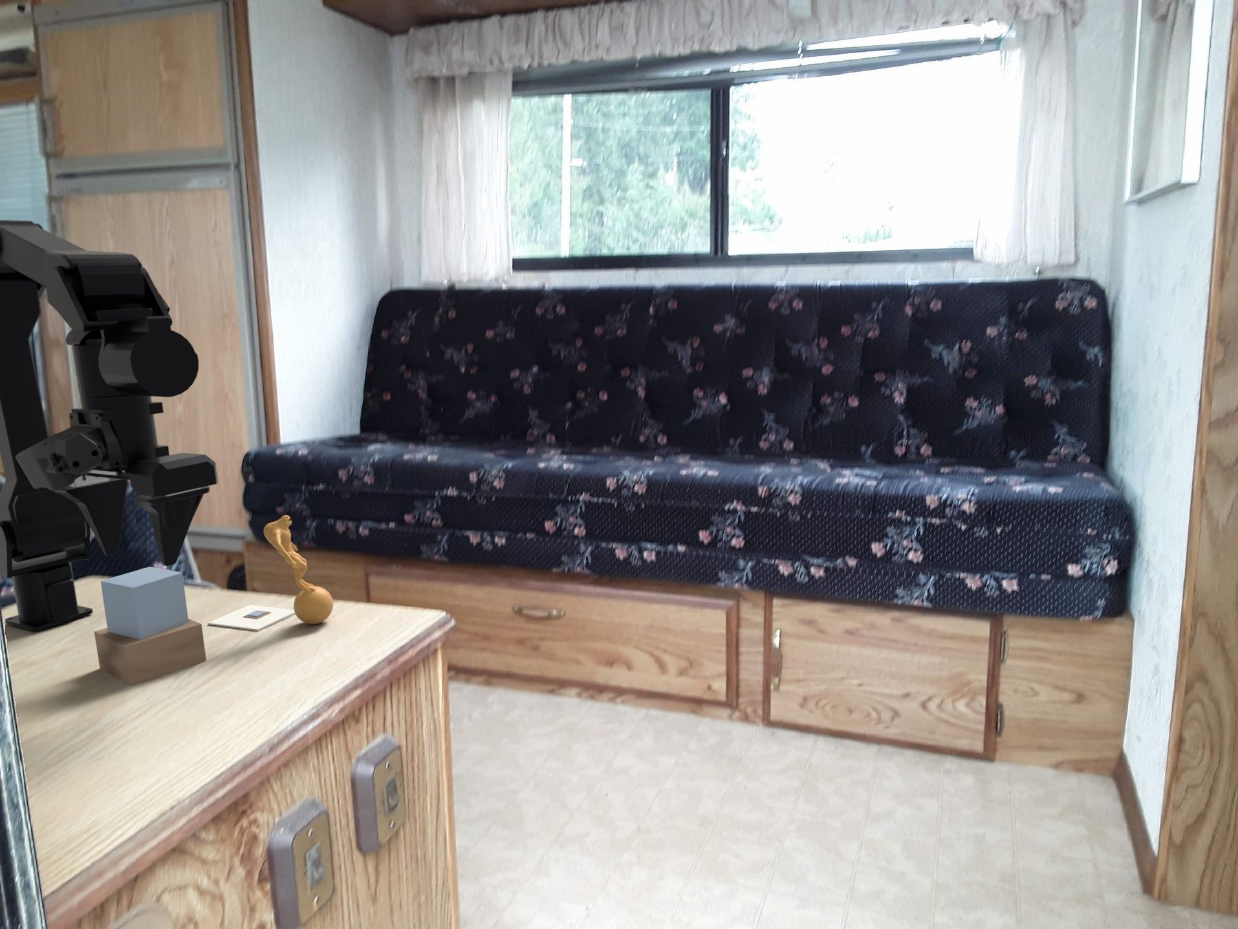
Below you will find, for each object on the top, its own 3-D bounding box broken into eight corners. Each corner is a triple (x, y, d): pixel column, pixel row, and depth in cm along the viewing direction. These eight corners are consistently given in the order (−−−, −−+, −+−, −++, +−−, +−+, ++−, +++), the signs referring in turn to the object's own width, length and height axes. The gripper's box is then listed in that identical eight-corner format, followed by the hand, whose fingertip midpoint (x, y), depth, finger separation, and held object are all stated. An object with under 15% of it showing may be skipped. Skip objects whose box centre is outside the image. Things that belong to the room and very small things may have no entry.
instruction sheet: (208, 624, 101) (207, 621, 101) (249, 606, 106) (249, 603, 106) (258, 631, 98) (257, 627, 98) (298, 612, 103) (298, 608, 103)
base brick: (100, 671, 90) (94, 631, 89) (173, 648, 95) (168, 610, 94) (132, 688, 85) (125, 646, 85) (206, 663, 91) (201, 623, 90)
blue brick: (107, 631, 89) (100, 581, 88) (156, 615, 93) (149, 566, 92) (140, 639, 86) (133, 587, 85) (188, 622, 90) (182, 572, 90)
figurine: (337, 632, 96) (325, 519, 94) (275, 642, 94) (261, 526, 92) (332, 608, 104) (321, 503, 102) (275, 617, 102) (262, 509, 100)
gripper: (-33, 403, 83) (-3, 572, 86) (85, 407, 74) (114, 597, 77) (91, 389, 93) (114, 542, 96) (210, 391, 83) (232, 561, 86)
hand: (140, 560), depth 88 cm, fingers open, 9 cm apart
